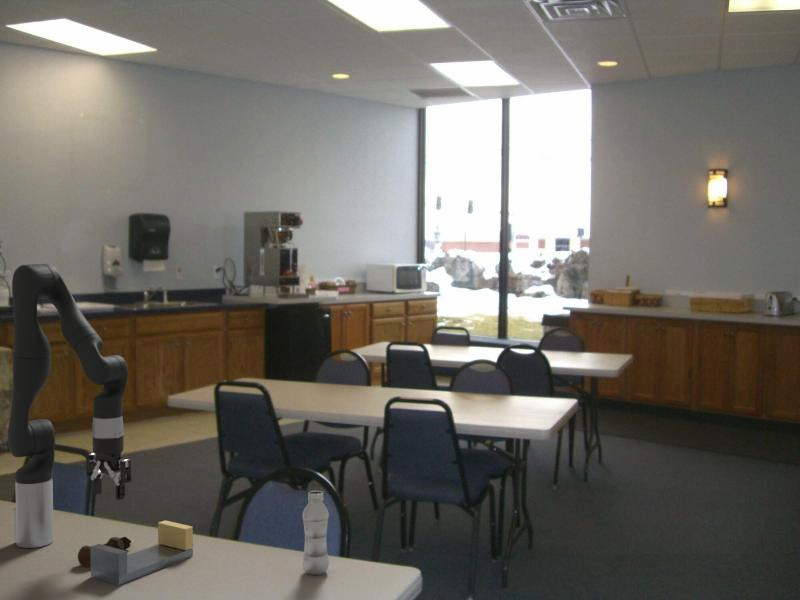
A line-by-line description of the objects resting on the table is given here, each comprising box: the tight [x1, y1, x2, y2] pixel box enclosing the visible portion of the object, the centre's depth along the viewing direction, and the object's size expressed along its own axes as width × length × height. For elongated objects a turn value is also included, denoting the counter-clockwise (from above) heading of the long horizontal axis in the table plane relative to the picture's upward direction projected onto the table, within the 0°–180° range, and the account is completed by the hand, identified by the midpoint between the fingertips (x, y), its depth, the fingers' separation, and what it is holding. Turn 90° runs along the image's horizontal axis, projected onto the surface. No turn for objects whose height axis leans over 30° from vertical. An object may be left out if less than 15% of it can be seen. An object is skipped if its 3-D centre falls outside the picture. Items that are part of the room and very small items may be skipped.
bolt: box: [77, 536, 132, 569], centre depth 225 cm, size 6×5×15 cm
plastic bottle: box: [302, 490, 330, 576], centre depth 214 cm, size 6×7×20 cm
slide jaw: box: [157, 520, 194, 550], centre depth 228 cm, size 10×2×6 cm, turn 58°
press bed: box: [90, 543, 194, 586], centre depth 218 cm, size 10×24×8 cm, turn 148°
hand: (108, 496), depth 224 cm, fingers open, 8 cm apart
